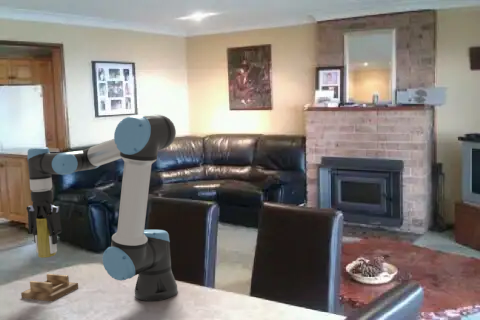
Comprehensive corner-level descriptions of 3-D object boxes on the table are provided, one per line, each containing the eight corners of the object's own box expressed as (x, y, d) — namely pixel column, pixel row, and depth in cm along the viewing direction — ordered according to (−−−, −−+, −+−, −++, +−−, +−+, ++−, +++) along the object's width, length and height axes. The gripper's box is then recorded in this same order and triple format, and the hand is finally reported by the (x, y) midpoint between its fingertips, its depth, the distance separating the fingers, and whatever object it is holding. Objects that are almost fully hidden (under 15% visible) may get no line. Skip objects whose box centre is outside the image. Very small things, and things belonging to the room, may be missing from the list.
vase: (49, 257, 183) (46, 219, 182) (34, 257, 184) (31, 219, 183) (59, 253, 189) (55, 215, 187) (44, 253, 190) (41, 215, 189)
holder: (78, 288, 192) (77, 273, 191) (52, 301, 179) (50, 286, 178) (49, 285, 197) (48, 271, 196) (21, 297, 184) (20, 283, 183)
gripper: (69, 188, 184) (74, 250, 186) (29, 188, 191) (34, 247, 193) (54, 192, 177) (59, 256, 179) (13, 191, 184) (19, 253, 186)
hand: (46, 251), depth 186 cm, fingers closed on vase, 6 cm apart
